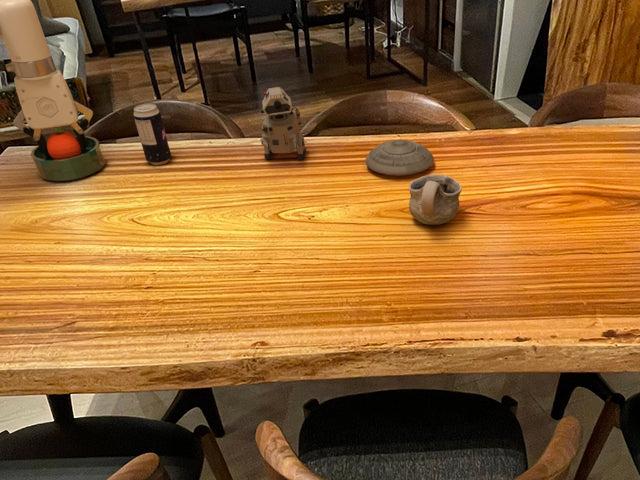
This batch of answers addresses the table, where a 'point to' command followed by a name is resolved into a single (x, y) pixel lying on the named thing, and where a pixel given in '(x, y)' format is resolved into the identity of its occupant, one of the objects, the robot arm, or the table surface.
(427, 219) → the mug
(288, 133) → the figurine
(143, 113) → the beverage can
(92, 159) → the bowl
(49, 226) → the table surface
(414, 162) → the flying saucer
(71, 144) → the clementine
